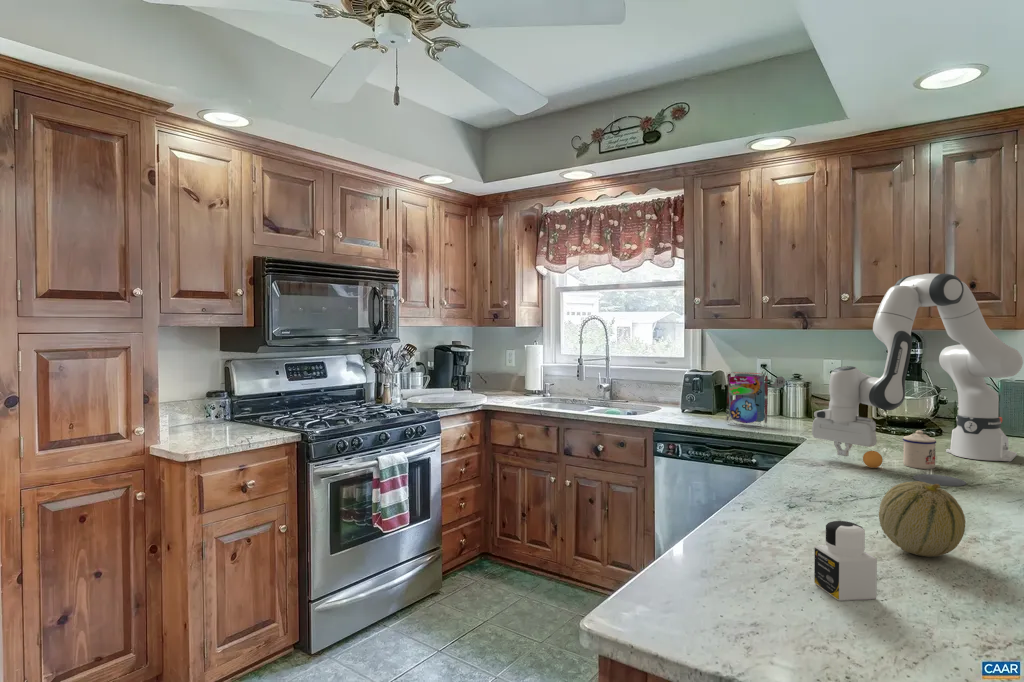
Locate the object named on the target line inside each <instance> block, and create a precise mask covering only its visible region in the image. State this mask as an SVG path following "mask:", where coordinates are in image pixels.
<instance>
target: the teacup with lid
mask: <svg viewBox="0 0 1024 682" xmlns="http://www.w3.org/2000/svg"><path fill="white" fill-rule="evenodd" d="M902 440H903V456H902V457H903V461H902V462H903V465H904V466H905V467H909V468H913V469H919V470H920V469H921V470H933V469H935V468H936V444H937V440H936V439H935V438H933V437H930V436H929V435H927V434H924V431H923V430H920V429H919V430H916V431H915V433H912V434H910V435H909V434H908V435H905V436H903V437H902Z"/></svg>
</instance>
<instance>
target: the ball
mask: <svg viewBox="0 0 1024 682" xmlns="http://www.w3.org/2000/svg"><path fill="white" fill-rule="evenodd" d="M862 462H863V463H864V465H865V466H866V467H868V468H870V469H876V468H879V467H880V466H881V465H882V464H883V457H882V454H881V453H879V452H878V451H876V450H868V451H866V452H865V453H864V454H863V456H862Z"/></svg>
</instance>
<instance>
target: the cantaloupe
mask: <svg viewBox="0 0 1024 682" xmlns="http://www.w3.org/2000/svg"><path fill="white" fill-rule="evenodd" d="M881 499H882V500H881V502H880V505H879V510H878V520H879V525H880V528H881V530H882V532H883V533H884V535H885V536H886V537H888V539H889V540H890V541H891V543H893V544H894V545H895V546H897V547H898V548H900V549H901V550H902V551H904V552H906V553H910V554H913V555H915V556H920V557H927V558H929V557H940V556H943V555H946V554H949V553H951V552H952V551H954V550H955V549H956V548H957V547H958V545H959V544H960V543H961V541H962V539H963V538H964V535H965V530H966V524H967V523H966V516H965V513H964V510H963V509H962V507H961V505H960V504H959V502H958V501H957V500H956V499H955V497H954V496H953V495H952V494H950V493H949V492H948V490H945V489H943V488H942V487H941V485H939V484H928V483H925V482H920V481H917V480H915V481H905V482H901V483H898V484H896V485H894V486H892V487H891V488H890V489H888V491H887V492H886V493H885V494H884V496H883V497H882V498H881Z"/></svg>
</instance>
